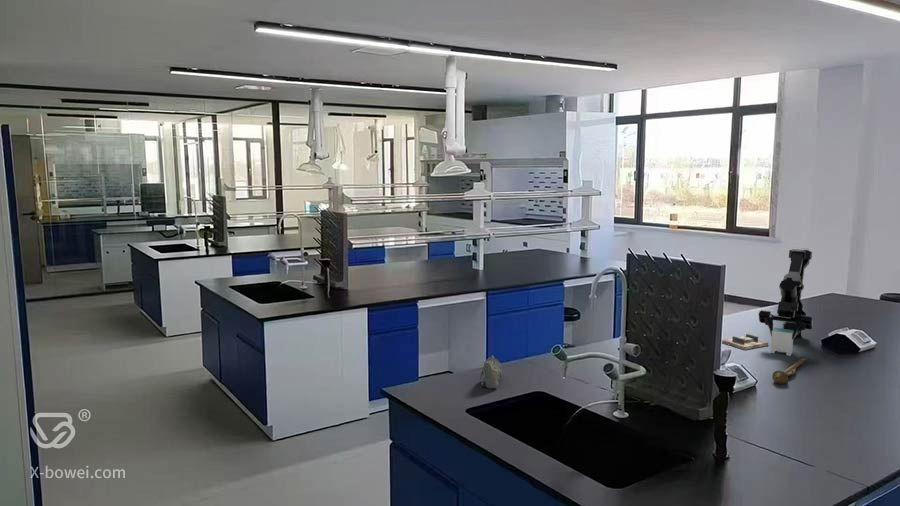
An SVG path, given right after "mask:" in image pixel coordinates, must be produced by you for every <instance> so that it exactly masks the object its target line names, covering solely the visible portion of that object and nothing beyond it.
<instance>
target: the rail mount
mask: <svg viewBox="0 0 900 506" xmlns="http://www.w3.org/2000/svg"><path fill="white" fill-rule="evenodd" d="M721 343H722V344H724V343H725V344H724V345H727V344H729V345H728V346H731V347H734V348H737V349H740V350H745V351H746V350H750V349H757V348H762V347H766V346H769V342H768V341H764V340H762V339H759V336H757V335H753V334H750V333H746V334H745V335H742V336H735V335H733V336H732V337H731V338H725V339H722V340H721Z"/></svg>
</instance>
